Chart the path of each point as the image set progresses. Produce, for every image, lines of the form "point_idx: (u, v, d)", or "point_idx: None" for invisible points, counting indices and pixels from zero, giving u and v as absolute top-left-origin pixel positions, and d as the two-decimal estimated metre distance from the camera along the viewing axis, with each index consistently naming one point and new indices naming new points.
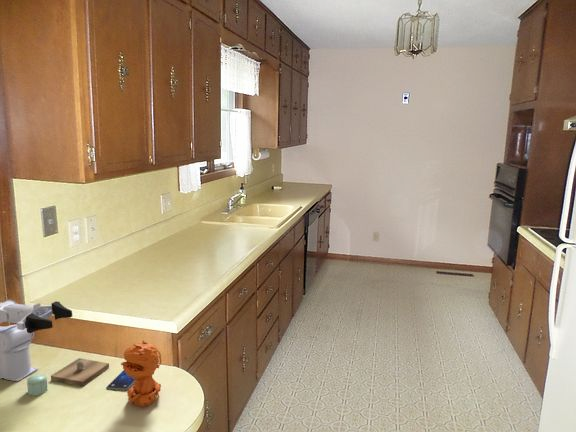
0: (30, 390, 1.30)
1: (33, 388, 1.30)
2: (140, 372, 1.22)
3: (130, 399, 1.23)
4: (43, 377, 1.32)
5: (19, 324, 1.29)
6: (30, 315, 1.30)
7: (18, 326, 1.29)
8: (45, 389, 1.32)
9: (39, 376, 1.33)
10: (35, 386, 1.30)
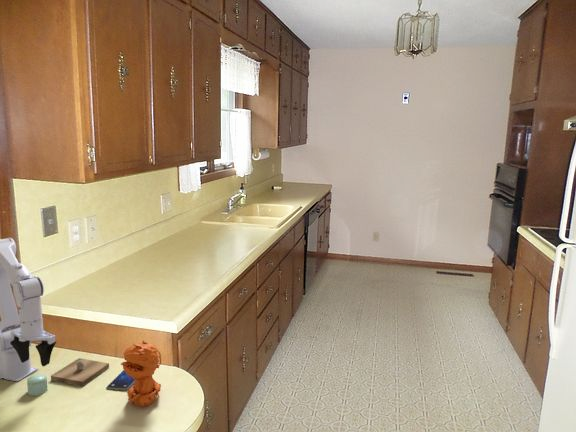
0: (30, 390, 1.30)
1: (33, 388, 1.30)
2: (140, 372, 1.22)
3: (130, 399, 1.23)
4: (43, 377, 1.32)
5: None
6: (12, 344, 1.29)
7: None
8: (45, 389, 1.32)
9: (39, 376, 1.33)
10: (35, 386, 1.30)
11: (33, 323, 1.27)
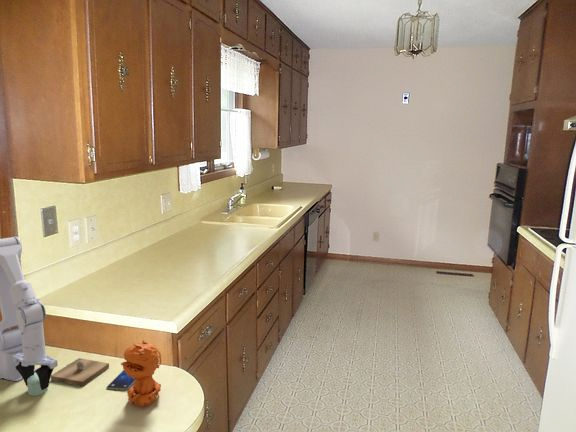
0: (30, 390, 1.30)
1: (33, 388, 1.30)
2: (140, 372, 1.22)
3: (130, 399, 1.23)
4: None
5: None
6: (18, 369, 1.30)
7: None
8: (45, 389, 1.32)
9: None
10: (35, 386, 1.30)
11: (35, 348, 1.28)
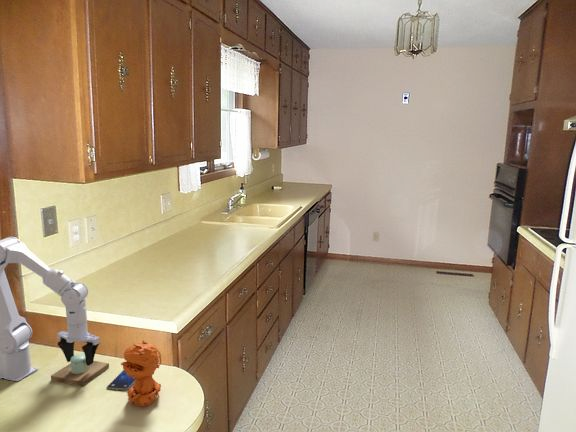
0: (73, 368, 1.39)
1: (76, 366, 1.39)
2: (140, 372, 1.22)
3: (130, 399, 1.23)
4: None
5: None
6: (60, 345, 1.40)
7: None
8: (87, 368, 1.42)
9: (81, 356, 1.42)
10: (78, 365, 1.39)
11: (79, 326, 1.38)
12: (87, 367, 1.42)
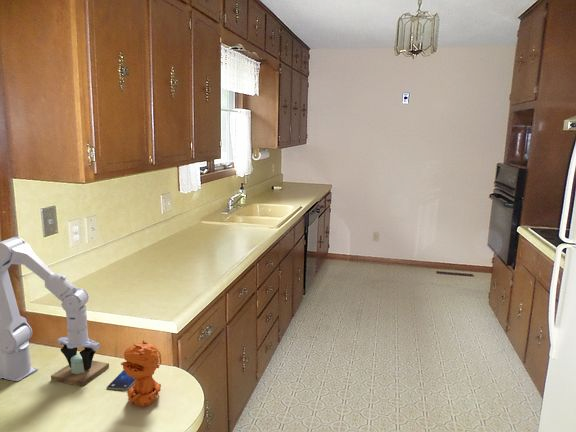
0: (73, 368, 1.39)
1: (76, 366, 1.39)
2: (140, 372, 1.22)
3: (130, 399, 1.23)
4: None
5: None
6: (63, 351, 1.40)
7: None
8: None
9: None
10: (78, 365, 1.39)
11: (80, 331, 1.38)
12: None
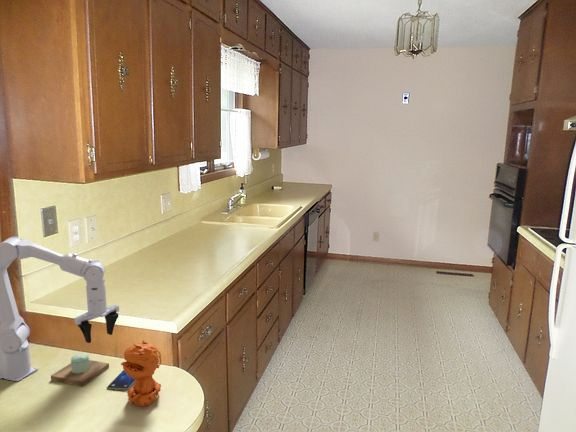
0: None
1: None
2: (140, 372, 1.22)
3: (130, 399, 1.23)
4: (76, 355, 1.43)
5: (77, 322, 1.40)
6: (88, 326, 1.41)
7: (76, 320, 1.40)
8: None
9: (76, 357, 1.41)
10: None
11: None
12: None
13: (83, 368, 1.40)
